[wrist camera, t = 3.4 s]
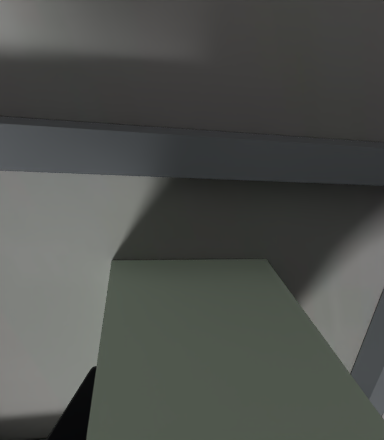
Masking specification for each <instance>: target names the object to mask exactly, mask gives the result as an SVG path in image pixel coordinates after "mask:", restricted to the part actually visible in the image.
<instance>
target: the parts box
mask: <svg viewBox="0 0 384 440" xmlns="http://www.w3.org/2000/svg"><path fill="white" fill-rule="evenodd" d="M86 440H384V420H383V418H382V417H381V415H380V414H379V413H378V411H377V410H376V409H375V407H374V406H373V405H372V403H371V402H370V400H369V399H368V398H367V396H366V395H365V394H364V392H363V391H362V389H361V388H360V387H359V385H358V384H357V383H356V381H355V380H354V379H353V377H352V376H351V374H350V373H349V372H348V370H347V369H346V368H345V366H344V365H343V363H342V362H341V361H340V359H339V358H338V357H337V355H336V354H335V353H334V351H333V350H332V348H331V347H330V346H329V344H328V343H327V342H326V340H325V339H324V337H323V336H322V335H321V333H320V332H319V331H318V329H317V328H316V327H315V325H314V324H313V322H312V321H311V320H310V318H309V317H308V316H307V314H306V313H305V312H304V310H303V309H302V307H301V306H300V305H299V303H298V302H297V301H296V299H295V298H294V296H293V295H292V294H291V292H290V291H289V290H288V288H287V287H286V286H285V284H284V283H283V281H282V280H281V279H280V277H279V276H278V275H277V273H276V272H275V270H274V269H273V268H272V266H271V265H270V264H269V262H268V261H267V260H266V259H204V260H112V262H111V269H110V276H109V283H108V290H107V297H106V304H105V311H104V318H103V325H102V332H101V339H100V346H99V353H98V360H97V367H96V374H95V381H94V388H93V395H92V402H91V409H90V416H89V423H88V430H87V437H86Z"/></svg>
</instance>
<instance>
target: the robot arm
mask: <svg viewBox="0 0 384 440" xmlns="http://www.w3.org/2000/svg"><path fill="white" fill-rule="evenodd" d="M96 367H97V366H95V367H92V368H91V370H90V371H89V373H88V374H87V376H86V377H85V379H84V381H83V382H82V384H81V385H80V387H79V389H78V390H77V392H76V393H75V395H74V397H73V398H72V400H71V401H70V403H69V404H68V406H67V408H66V409H65V411H64V412H63V414H62V416H61V417H60V419H59V420H58V422H57V423H56V425H55V427H54V428H53V430H52V431H51V433H50V435H49V436H48V438H47V439H46V440H86V437H87V430H88V423H89V416H90V409H91V402H92V395H93V388H94V381H95V374H96Z"/></svg>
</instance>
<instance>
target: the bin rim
mask: <svg viewBox="0 0 384 440" xmlns="http://www.w3.org/2000/svg"><path fill="white" fill-rule="evenodd" d="M0 171H25V172H51V173H76V174H101V175H126V176H151V177H176V178H201V179H227V180H252V181H277V182H302V183H327V184H352V185H377V186H384V142H369V141H355V140H340V139H325V138H311V137H296V136H281V135H267V134H252V133H237V132H223V131H208V130H194V129H179V128H164V127H150V126H135V125H120V124H106V123H91V122H76V121H62V120H47V119H33V118H18V117H3V116H0ZM351 376H352V377H353V379H354V380H355V381H356V383H357V384H358V385H359V387H360V388H361V389H362V391H363V392H364V394H365V395H366V396H367V398H368V399H369V400H370V402H371V403H372V405H373V406H374V407H375V409H376V410H377V411H378V413H379V414H380V415H381V417H382V415H383V413H384V290H383V293H382V296H381V298H380V301H379V303H378V306H377V308H376V311H375V313H374V316H373V319H372V321H371V324H370V326H369V329H368V331H367V334H366V336H365V339H364V342H363V344H362V347H361V349H360V352H359V354H358V357H357V359H356V362H355V365H354V367H353V370H352V372H351ZM41 440H46V439H41Z"/></svg>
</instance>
